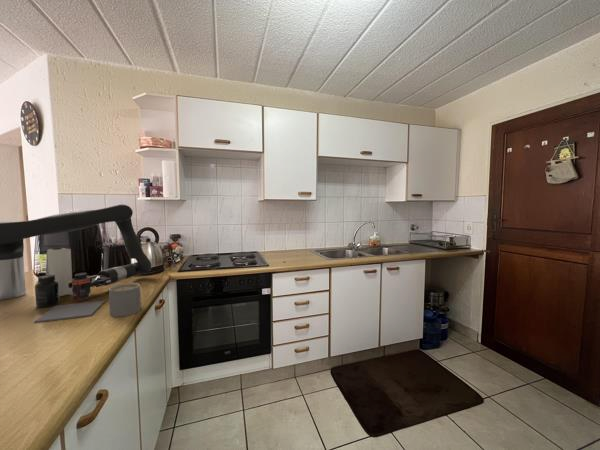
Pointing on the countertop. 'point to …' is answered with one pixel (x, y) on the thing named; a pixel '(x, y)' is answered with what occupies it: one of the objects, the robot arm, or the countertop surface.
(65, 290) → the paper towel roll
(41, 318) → the mat
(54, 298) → the supplement bottle
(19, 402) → the countertop surface
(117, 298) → the coffee mug
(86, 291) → the supplement bottle
